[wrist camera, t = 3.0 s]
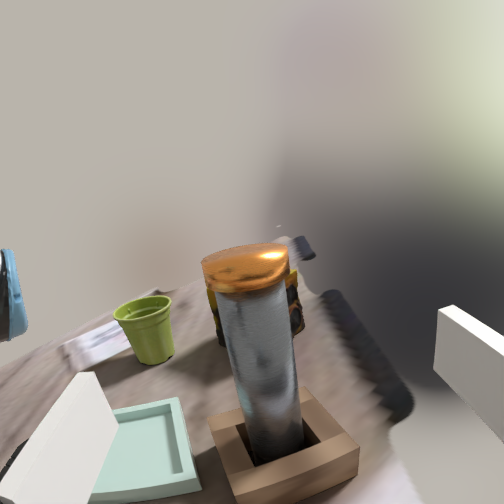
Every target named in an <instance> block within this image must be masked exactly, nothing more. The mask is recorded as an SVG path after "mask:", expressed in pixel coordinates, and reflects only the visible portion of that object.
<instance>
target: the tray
mask: <svg viewBox="0 0 504 504" xmlns="http://www.w3.org/2000/svg"><path fill="white" fill-rule="evenodd" d="M112 412H113V414H114V416H115V418H116V420H117V422H118V424H119V428H118V430H117V433H116V435H115V437H114V440H113V442H112V444H111V447H110V449H109V451H108V454H107V456H106V458H105V461H104V463H103V466H102V468H101V470H100V473H99V475H98V478H97V480H96V483H95V485H94V488H93V490H92V493H91V495H90V498H89V500H88V503H87V504H122V503H131V502H139V501H146V500H153V499H159V498H165V497H171V496H176V495H181V494H186V493H191V492H195V491H200V490H202V486H201V483H200V479H199V475H198V472H197V468H196V464H195V460H194V457H193V453H192V449H191V445H190V441H189V436H188V432H187V428H186V424H185V419H184V415H183V410H182V407H181V404H180V402H179V399H178V397H174V398H170V399H165V400H161V401H156V402H151V403H147V404H142V405H137V406H132V407H126V408H121V409H115V410H112Z"/></svg>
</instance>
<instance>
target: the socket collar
mask: <svg viewBox="0 0 504 504" xmlns="http://www.w3.org/2000/svg"><path fill="white" fill-rule="evenodd" d="M299 398H300V407H301V416H302V425H303V434H304V444H305V446H306V448H307V449H304V450H302V451H299V452H297V453H294V454H291V455H289V456H286V457H283V458H281V459H278V460H275V461H272V462H269V463H266V464H263V465H260V466H257V467H254V465H253V463H252V461H251V459H250V457H249V455H248V453H247V451H251V450H252V448H251V444H250V441H249V437H248V433H247V429H246V425H245V421H244V417H243V413H242V409H241V408H238V409H235V410H232V411H228V412H225V413H221V414H218V415H214V416H210V417H206V418H207V421H208V424H209V427H210V430H211V433H212V436H213V439H214V442H215V445H216V448H217V450H218V453H219V456H220V459H221V462H222V464H223V467H224V470H225V473H226V475H227V478H228V480H229V483H230V486H231V488H232V491H233V493H234V496H235V498H236V501H237V503H238V504H293V503H296V502H298V501H301V500H303V499H306V498H308V497H311V496H313V495H315V494H318V493H320V492H322V491H324V490H327V489H329V488H331V487H333V486H335V485H338V484H340V483H342V482H344V481H346V480H348V479H350V478H352V477H354V476H356V475H358V465H359V453H360V446H359V445H358V444H357V443H356V442H355V441H354V440H353V439H352V438H351V437H350V436H349V434H348V433H347V432H346V431H345V430H344V429H343V428H342V427H341V426H340V425H339V424H338V423H337V421H336V420H335V419H334V418H333V417H332V416H331V415H330V414H329V413H328V412H327V410H326V409H325V408H324V407H323V406H322V405H321V404H320V403H319V402H318V400H317V399H316V398H315V397H314V396H313V395H312V394H311V393H310V391H309V390H308V389H307V388H306V387H305V386H304V387H301V388H299Z"/></svg>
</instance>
